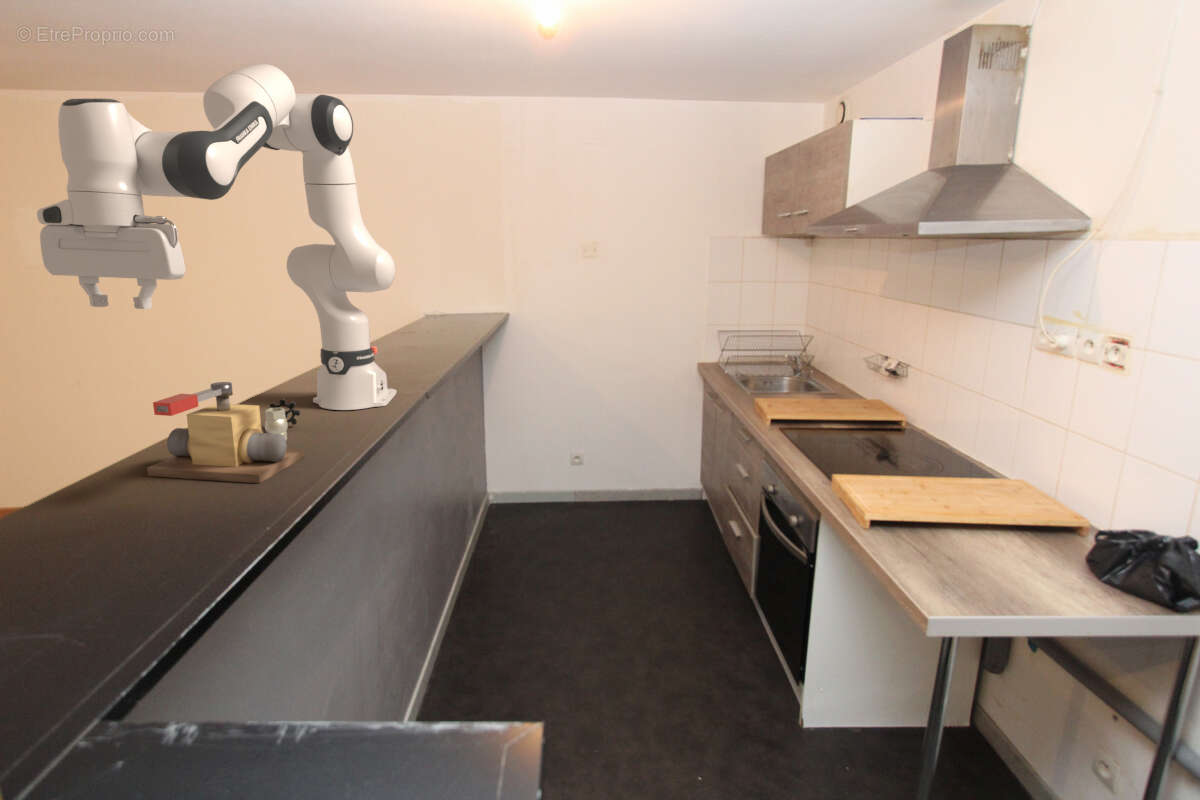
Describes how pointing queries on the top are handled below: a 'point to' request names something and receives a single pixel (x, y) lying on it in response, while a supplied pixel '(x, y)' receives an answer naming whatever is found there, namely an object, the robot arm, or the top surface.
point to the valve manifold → (225, 446)
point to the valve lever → (190, 399)
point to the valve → (280, 417)
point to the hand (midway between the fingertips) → (121, 307)
